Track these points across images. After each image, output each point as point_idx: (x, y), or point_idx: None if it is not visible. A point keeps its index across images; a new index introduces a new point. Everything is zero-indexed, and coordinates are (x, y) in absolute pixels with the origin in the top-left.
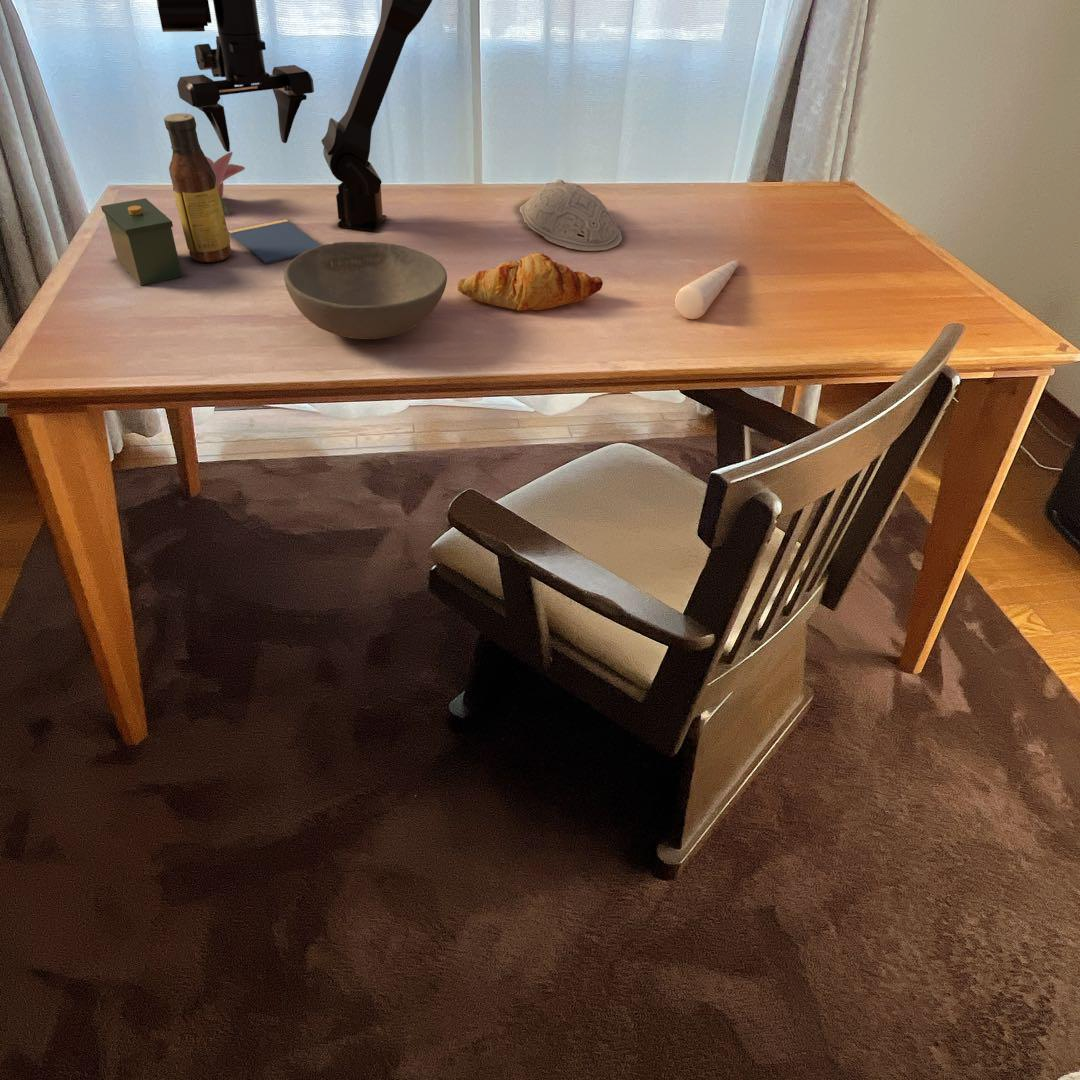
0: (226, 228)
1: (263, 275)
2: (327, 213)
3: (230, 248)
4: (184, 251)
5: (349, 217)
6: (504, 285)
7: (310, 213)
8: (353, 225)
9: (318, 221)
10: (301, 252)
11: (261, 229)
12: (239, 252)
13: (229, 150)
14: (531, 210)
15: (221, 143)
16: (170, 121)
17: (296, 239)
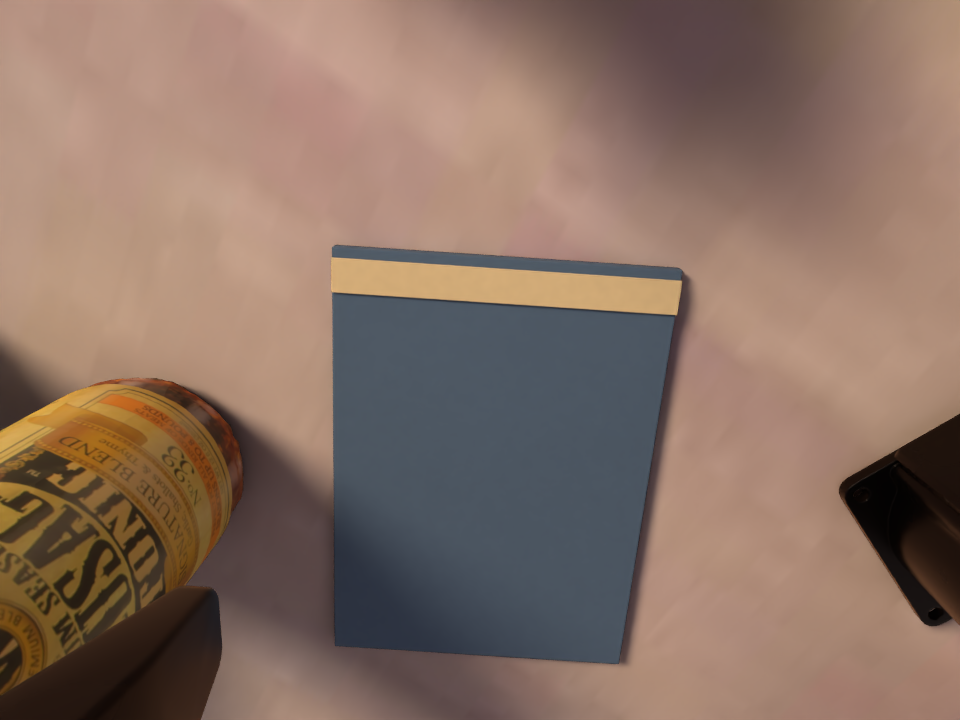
0: (184, 585)
1: (285, 709)
2: (939, 287)
3: (238, 500)
4: (60, 336)
5: (909, 552)
6: None
7: (867, 232)
8: (891, 549)
9: (819, 360)
10: (509, 649)
11: (493, 332)
12: (290, 482)
13: (210, 675)
14: None
15: (111, 634)
16: None
17: (571, 527)
